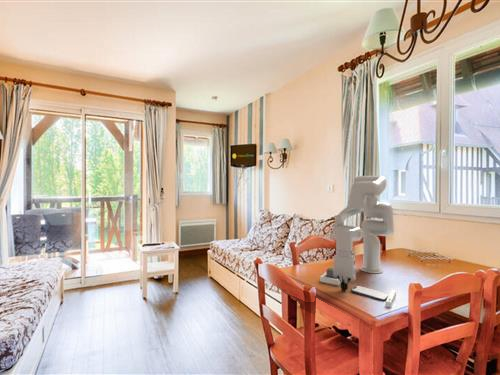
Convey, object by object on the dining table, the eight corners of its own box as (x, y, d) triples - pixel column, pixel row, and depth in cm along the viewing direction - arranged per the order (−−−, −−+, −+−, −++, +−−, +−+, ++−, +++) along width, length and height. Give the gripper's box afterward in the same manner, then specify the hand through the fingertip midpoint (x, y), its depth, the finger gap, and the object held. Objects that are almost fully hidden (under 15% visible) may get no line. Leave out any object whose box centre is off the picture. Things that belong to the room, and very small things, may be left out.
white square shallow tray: (326, 277, 156) (326, 271, 156) (344, 280, 151) (344, 275, 151) (319, 282, 148) (319, 276, 148) (338, 286, 142) (338, 280, 142)
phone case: (390, 297, 130) (357, 288, 141) (391, 294, 130) (357, 285, 141) (384, 303, 124) (349, 293, 135) (384, 300, 124) (349, 289, 135)
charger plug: (336, 279, 150) (336, 266, 150) (334, 282, 147) (334, 268, 147) (329, 278, 153) (329, 265, 152) (326, 280, 149) (326, 267, 149)
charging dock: (391, 294, 132) (391, 288, 132) (396, 295, 131) (396, 289, 131) (385, 306, 119) (385, 300, 119) (391, 307, 118) (391, 301, 118)
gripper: (362, 253, 135) (361, 291, 135) (331, 249, 143) (331, 284, 143) (358, 257, 128) (358, 296, 129) (326, 252, 137) (326, 289, 137)
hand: (344, 290), depth 136 cm, fingers closed
